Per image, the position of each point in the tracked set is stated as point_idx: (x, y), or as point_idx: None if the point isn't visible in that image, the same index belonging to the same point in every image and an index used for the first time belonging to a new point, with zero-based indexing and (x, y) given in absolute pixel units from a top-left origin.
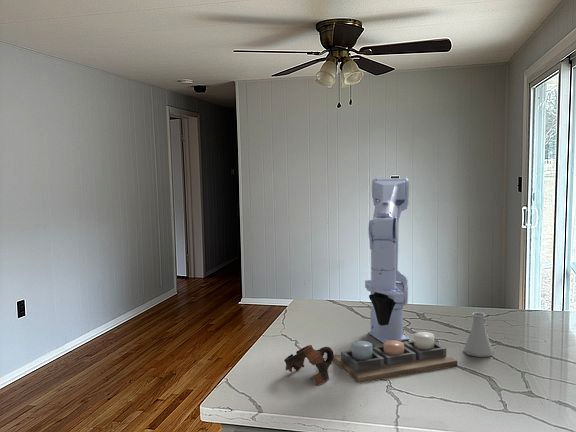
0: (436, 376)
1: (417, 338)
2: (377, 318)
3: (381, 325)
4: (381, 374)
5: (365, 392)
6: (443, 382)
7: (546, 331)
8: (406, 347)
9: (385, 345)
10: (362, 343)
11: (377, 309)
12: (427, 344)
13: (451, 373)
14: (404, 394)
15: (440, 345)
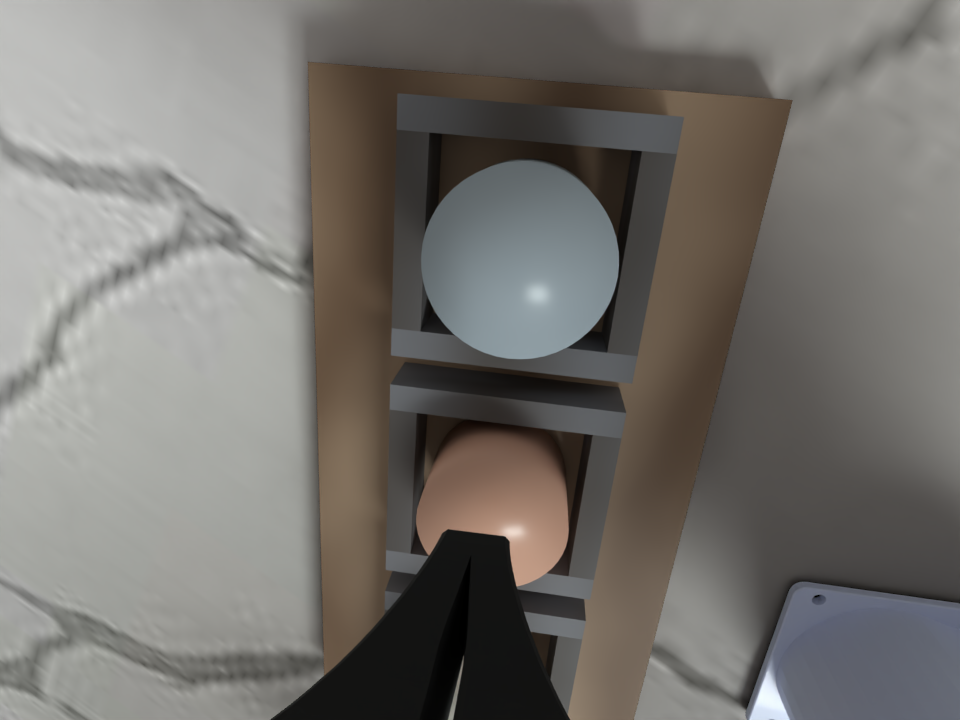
0: (257, 518)
1: (456, 685)
2: (491, 572)
3: (443, 533)
4: (314, 254)
5: (183, 34)
6: (186, 500)
7: None
8: None
9: (491, 461)
10: (539, 286)
11: (429, 669)
12: None
13: (265, 591)
14: (106, 245)
15: None
